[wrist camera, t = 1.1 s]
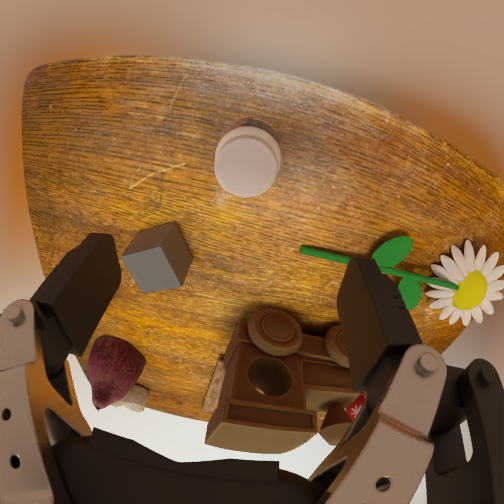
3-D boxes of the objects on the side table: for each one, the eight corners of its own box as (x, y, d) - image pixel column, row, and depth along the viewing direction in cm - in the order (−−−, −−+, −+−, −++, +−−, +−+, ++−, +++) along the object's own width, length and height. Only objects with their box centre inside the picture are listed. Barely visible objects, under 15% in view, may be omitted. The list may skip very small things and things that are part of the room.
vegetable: (110, 316, 44) (70, 368, 29) (156, 350, 46) (130, 411, 31) (92, 347, 46) (58, 396, 32) (133, 377, 48) (109, 431, 34)
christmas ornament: (367, 398, 50) (374, 437, 42) (333, 398, 50) (337, 441, 41) (387, 379, 45) (397, 422, 37) (351, 379, 45) (358, 426, 37)
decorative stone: (108, 393, 54) (91, 410, 44) (113, 363, 55) (96, 378, 45) (148, 411, 55) (136, 431, 45) (155, 381, 55) (143, 400, 45)
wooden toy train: (218, 344, 40) (201, 447, 26) (238, 293, 34) (221, 421, 20) (334, 367, 42) (344, 457, 29) (372, 325, 36) (399, 430, 22)
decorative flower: (289, 280, 35) (466, 317, 33) (286, 305, 31) (476, 338, 28) (314, 185, 28) (504, 248, 26) (316, 199, 24) (521, 266, 22)
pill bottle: (242, 107, 22) (230, 117, 15) (289, 134, 23) (298, 156, 16) (217, 151, 24) (195, 181, 17) (261, 175, 25) (258, 215, 18)
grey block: (138, 231, 30) (120, 256, 25) (176, 220, 29) (160, 246, 24) (157, 266, 32) (142, 293, 28) (193, 258, 31) (182, 287, 27)
